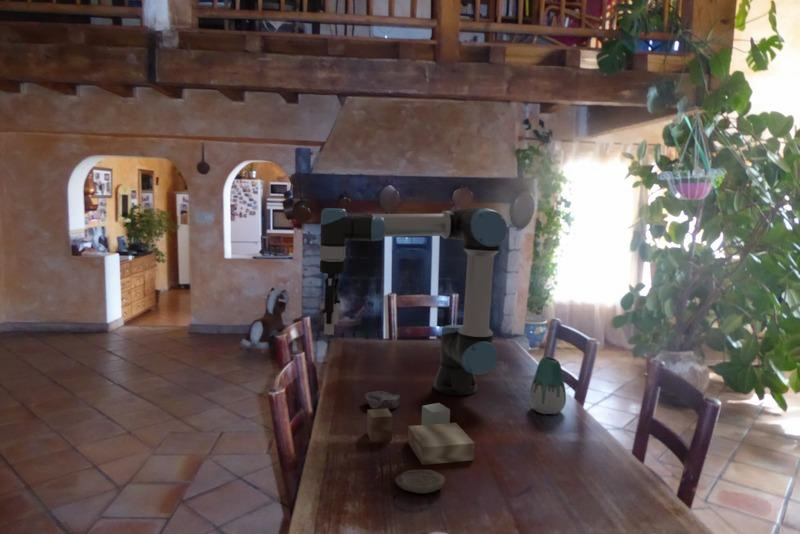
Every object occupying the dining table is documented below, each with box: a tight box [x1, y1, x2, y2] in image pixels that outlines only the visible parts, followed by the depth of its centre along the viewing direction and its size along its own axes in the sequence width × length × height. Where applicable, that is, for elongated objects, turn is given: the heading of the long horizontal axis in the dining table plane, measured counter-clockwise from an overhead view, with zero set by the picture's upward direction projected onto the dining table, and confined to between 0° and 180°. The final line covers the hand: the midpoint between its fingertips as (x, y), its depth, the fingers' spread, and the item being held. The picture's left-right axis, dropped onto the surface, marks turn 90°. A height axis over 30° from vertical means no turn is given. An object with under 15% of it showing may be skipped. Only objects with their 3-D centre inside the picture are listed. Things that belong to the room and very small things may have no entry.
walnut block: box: [366, 408, 394, 443], centre depth 164 cm, size 6×6×7 cm
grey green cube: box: [420, 402, 451, 425], centre depth 172 cm, size 6×6×6 cm
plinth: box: [407, 422, 476, 466], centre depth 156 cm, size 14×14×5 cm
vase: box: [528, 356, 567, 415], centre depth 188 cm, size 12×12×18 cm
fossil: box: [395, 469, 446, 494], centre depth 136 cm, size 10×12×3 cm
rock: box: [364, 390, 401, 410], centre depth 188 cm, size 8×11×5 cm
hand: (331, 329), depth 177 cm, fingers open, 13 cm apart
